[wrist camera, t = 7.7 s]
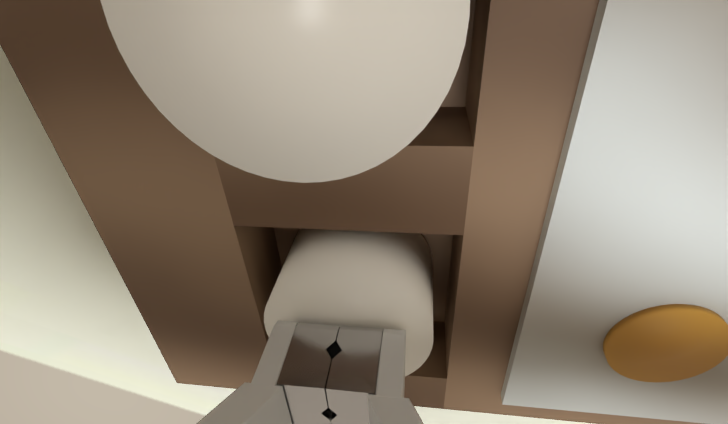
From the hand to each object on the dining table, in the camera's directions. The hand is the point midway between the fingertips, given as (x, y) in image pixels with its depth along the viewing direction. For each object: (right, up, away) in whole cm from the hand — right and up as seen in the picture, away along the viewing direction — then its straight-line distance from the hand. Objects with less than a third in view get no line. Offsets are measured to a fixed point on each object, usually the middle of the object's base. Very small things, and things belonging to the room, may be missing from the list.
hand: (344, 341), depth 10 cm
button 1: (0, +2, +2) cm, 3 cm away
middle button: (0, +6, -3) cm, 7 cm away
